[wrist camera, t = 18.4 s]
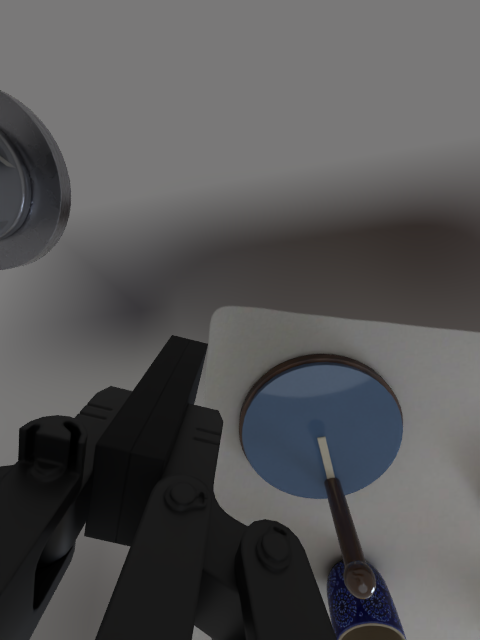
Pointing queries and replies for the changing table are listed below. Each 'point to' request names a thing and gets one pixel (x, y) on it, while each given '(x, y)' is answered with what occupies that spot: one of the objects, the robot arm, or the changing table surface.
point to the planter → (362, 610)
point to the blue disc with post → (325, 444)
